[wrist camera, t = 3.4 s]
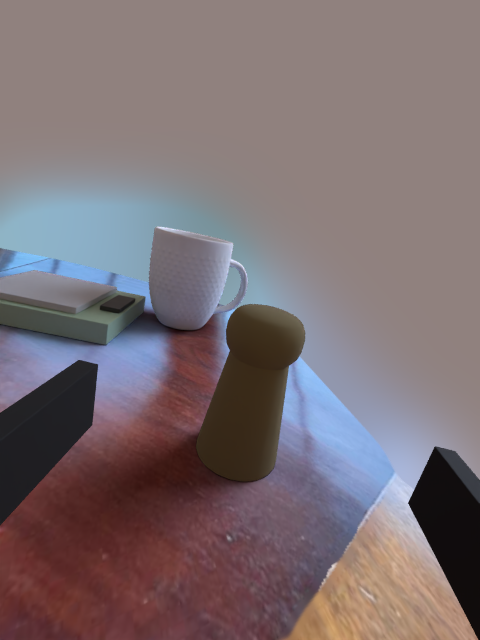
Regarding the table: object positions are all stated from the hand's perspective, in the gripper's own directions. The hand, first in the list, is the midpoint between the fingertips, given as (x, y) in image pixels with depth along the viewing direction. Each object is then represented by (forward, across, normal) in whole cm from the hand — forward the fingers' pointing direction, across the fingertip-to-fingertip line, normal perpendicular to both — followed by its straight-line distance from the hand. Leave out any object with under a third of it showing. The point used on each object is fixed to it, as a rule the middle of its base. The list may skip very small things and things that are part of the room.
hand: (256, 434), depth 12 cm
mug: (+35, -10, -8) cm, 37 cm away
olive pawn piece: (+9, 0, -8) cm, 13 cm away
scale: (+27, -26, -8) cm, 38 cm away
